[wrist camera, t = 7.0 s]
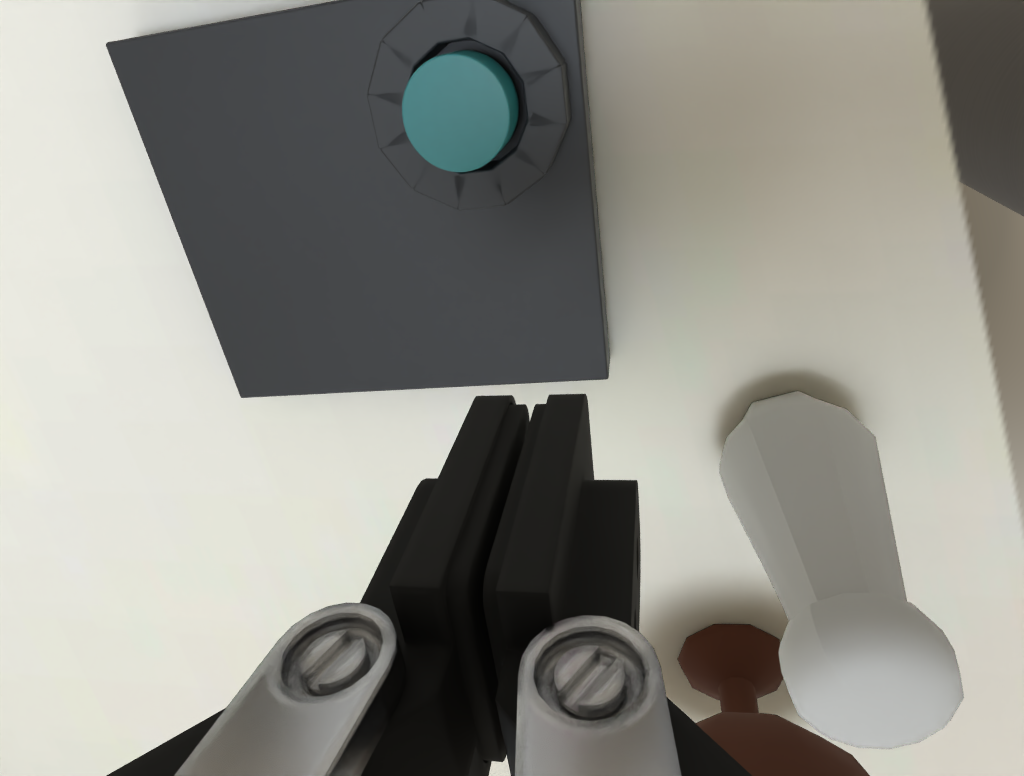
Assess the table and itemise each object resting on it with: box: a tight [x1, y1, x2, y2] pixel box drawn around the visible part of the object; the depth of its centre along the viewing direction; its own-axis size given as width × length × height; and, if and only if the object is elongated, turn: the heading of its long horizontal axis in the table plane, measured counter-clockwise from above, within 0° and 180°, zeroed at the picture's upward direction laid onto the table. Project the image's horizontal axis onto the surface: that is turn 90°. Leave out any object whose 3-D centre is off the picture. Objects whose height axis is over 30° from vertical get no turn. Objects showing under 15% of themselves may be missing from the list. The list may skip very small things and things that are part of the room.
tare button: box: [402, 50, 519, 172], centre depth 20 cm, size 3×3×2 cm
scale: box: [106, 0, 610, 398], centre depth 25 cm, size 16×14×4 cm
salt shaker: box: [719, 391, 964, 749], centre depth 23 cm, size 6×6×13 cm
